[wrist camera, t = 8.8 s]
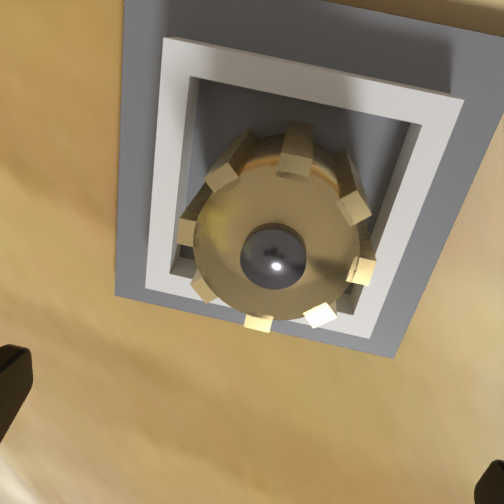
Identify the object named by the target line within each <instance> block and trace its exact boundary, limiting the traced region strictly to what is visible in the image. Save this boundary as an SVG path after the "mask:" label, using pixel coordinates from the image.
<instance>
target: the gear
mask: <svg viewBox="0 0 504 504" xmlns="http://www.w3.org/2000/svg"><path fill="white" fill-rule="evenodd" d="M204 180H205V181H206V182H205V183H204V184H203V186H202V187H201V189H200V190H199V191H198V193H197V194H196V195H195V197H194V198H193V200H192V201H191V202H190V204H189V205H188V207H187V208H186V209H185V211H184V212H183V213H182V215H181V216H180V218H179V225H178V234H177V244H181V245H186V246H190V247H193V252H194V257H195V261H196V265H197V267H198V269H197V271H196V273H195V275H194V277H193V279H192V281H191V283H190V285H191V286H192V288H193V289H194V290H195V291H196V293H197V294H198V295H199V296H200V297H201V299H202V300H203V301H204V302H205V303H206V304H207V303H209V302H211V301H212V300H214V299H216V298H218V297H219V298H220V299H221V300H222V301H223V302H225V303H226V304H228V305H229V306H230V307H232V308H234V309H236V310H238V311H240V312H242V313H244V314H246V318H245V323H244V327H247V328H251V329H255V330H260V331H264V332H269V331H270V327H271V323H272V320H277V321H281V320H293V319H299V318H303V317H306V319H307V320H308V321H309V323H310V324H311V325H312V327H313V328H315V327H317V326H320V325H322V324H324V323H326V322H328V321H331V320H333V319H335V318H337V309H336V300H337V299H338V298H339V297H340V296H341V295H342V294H343V293H344V291H345V290H346V289H347V288H348V286H349V284H350V283H351V282H353V283H357V284H362V285H366V286H368V284H369V282H370V279H371V276H372V273H373V271H374V268H375V265H376V262H377V260H376V256H375V253H374V249H373V245H372V242H371V238H370V234H369V231H368V227H367V223H366V218H368V217H369V216H371V215H372V213H371V210H370V207H369V204H368V201H367V197H366V194H365V191H364V188H363V185H362V182H361V178H360V175H359V172H358V169H357V166H356V164H355V163H354V161H353V159H352V158H351V156H350V154H349V153H348V151H347V149H346V148H344V149H342V150H341V151H339V152H337V153H336V154H334V155H333V154H332V153H331V152H330V151H329V150H328V149H326V148H325V147H324V146H323V145H321V144H319V143H318V142H316V141H314V140H313V124H308V123H304V122H299V121H294V120H290V121H289V125H288V129H287V132H286V134H275V135H270V136H266V137H263V138H260V139H258V138H257V136H256V135H255V133H254V132H253V130H252V128H249V129H248V130H247V131H245V132H244V133H242V134H241V135H239V136H238V137H236V138H235V139H234V140H232V141H231V143H230V144H229V145H228V147H227V148H226V149H225V151H224V152H223V153H222V155H221V156H220V157H219V159H218V160H217V161H216V163H215V164H214V165H213V167H212V168H211V169H210V171H209V172H208V173H207V175H206V176H205V177H204Z"/></svg>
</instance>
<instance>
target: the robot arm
mask: <svg viewBox="0 0 504 504" xmlns="http://www.w3.org/2000/svg"><path fill="white" fill-rule="evenodd" d="M32 384H33V370H32V358H31V352H30V350H29V349H27V348H25V347H21V346H16V345H12V344H8V345H4V346H2V347H0V443H1V441H2V440H3V438H4V436H5V434H6V432H7V431H8V429H9V427H10V425H11V424H12V422H13V420H14V418H15V417H16V415H17V413H18V411H19V409H20V408H21V406H22V404H23V402H24V401H25V399H26V397H27V395H28V394H29V392H30V390H31V387H32ZM474 501H475V504H504V461H503V460H494V461H492V463H491V464H490V465H489V467H488V468H487V470H486V471H485V472H484V474H483V475H482V477H481V478H480V480H479V481H478V482H477V484H476V487H475V490H474Z"/></svg>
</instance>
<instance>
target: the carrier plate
mask: <svg viewBox="0 0 504 504" xmlns="http://www.w3.org/2000/svg"><path fill="white" fill-rule="evenodd" d="M503 112H504V37H500V36H495V35H490V34H485V33H480V32H475V31H470V30H465V29H461V28H456V27H451V26H446V25H441V24H436V23H431V22H426V21H421V20H416V19H411V18H406V17H401V16H397V15H392V14H387V13H382V12H377V11H372V10H367V9H362V8H357V7H352V6H347V5H342V4H337V3H333V2H328V1H323V0H124V30H123V61H122V91H121V122H120V152H119V182H118V213H117V243H116V274H115V296H119V297H124V298H128V299H133V300H137V301H141V302H146V303H150V304H155V305H159V306H163V307H168V308H172V309H177V310H181V311H185V312H190V313H194V314H199V315H203V316H207V317H212V318H216V319H220V320H225V321H229V322H234V323H238V324H242V325H244V323H245V318H246V314H244V313H242V312H240V311H238V310H236V309H234V308H232V307H230V306H229V305H228V304H226V303H225V302H223V301H222V300H221V299H220V298H219V297H218V298H216V299H214V300H212V301H211V302H209V303H207V304H206V303H205V302H204V301H203V300H202V299H201V297H200V296H199V295H198V294H197V293H196V291H195V290H194V289H193V288H192V286H191V285H190V283H191V281H192V279H193V277H194V275H195V273H196V271H197V269H198V267H197V265H196V261H195V257H194V252H193V247H190V246H186V245H181V244H177V234H178V225H179V218H180V216H181V215H182V213H183V212H184V211H185V209H186V208H187V207H188V205H189V204H190V202H191V201H192V200H193V198H194V197H195V195H196V194H197V193H198V191H199V190H200V189H201V187H202V186H203V184H204V183H205V182H206V181H205V180H204V177H205V176H206V175H207V173H208V172H209V171H210V169H211V168H212V167H213V165H214V164H215V163H216V161H217V160H218V159H219V157H220V156H221V155H222V153H223V152H224V151H225V149H226V148H227V147H228V145H229V144H230V143H231V141H232V140H234V139H235V138H236V137H238V136H239V135H241V134H242V133H244V132H245V131H247V130H248V129H249V128H252V130H253V132H254V133H255V135H256V136H257V138H258V139H260V138H263V137H266V136H270V135H275V134H286V132H287V129H288V125H289V121H290V120H294V121H299V122H304V123H308V124H313V140H314V141H316V142H318V143H319V144H321V145H323V146H324V147H325V148H326V149H328V150H329V151H330V152H331V153H332V154H333V155H334V154H336V153H337V152H339V151H341V150H342V149H344V148H346V149H347V151H348V153H349V154H350V156H351V158H352V159H353V161H354V163H355V164H356V166H357V169H358V172H359V175H360V178H361V182H362V185H363V188H364V191H365V194H366V197H367V201H368V204H369V207H370V210H371V213H372V215H371V216H369V217H368V218H366V223H367V227H368V231H369V234H370V238H371V242H372V245H373V249H374V253H375V256H376V260H377V262H376V265H375V268H374V271H373V273H372V276H371V279H370V282H369V284H368V286H366V285H362V284H357V283H353V282H351V283H350V284H349V286H348V288H347V289H346V290H345V291H344V293H343V294H342V295H341V296H340V297H339V298H338V299H337V300H336V309H337V318H335V319H333V320H331V321H328V322H326V323H324V324H322V325H320V326H317V327H315V328H313V327H312V325H311V324H310V323H309V321H308V320H307V319H306V317H303V318H299V319H293V320H281V321H277V320H272V323H271V327H270V331H273V332H278V333H282V334H286V335H291V336H295V337H300V338H304V339H308V340H313V341H317V342H322V343H326V344H330V345H335V346H339V347H344V348H348V349H352V350H357V351H361V352H365V353H370V354H374V355H379V356H383V357H387V358H392V359H394V357H395V355H396V352H397V350H398V348H399V346H400V343H401V341H402V339H403V337H404V334H405V332H406V330H407V328H408V325H409V323H410V321H411V319H412V316H413V314H414V312H415V310H416V308H417V305H418V303H419V301H420V299H421V296H422V294H423V292H424V290H425V287H426V285H427V283H428V281H429V278H430V276H431V274H432V272H433V269H434V267H435V265H436V263H437V260H438V258H439V256H440V254H441V251H442V249H443V247H444V245H445V242H446V240H447V238H448V236H449V233H450V231H451V229H452V227H453V225H454V222H455V220H456V218H457V216H458V213H459V211H460V209H461V207H462V204H463V202H464V200H465V198H466V195H467V193H468V191H469V189H470V186H471V184H472V182H473V180H474V177H475V175H476V173H477V171H478V168H479V166H480V164H481V162H482V159H483V157H484V155H485V153H486V150H487V148H488V146H489V144H490V142H491V139H492V137H493V135H494V133H495V130H496V128H497V126H498V124H499V121H500V119H501V117H502V115H503Z"/></svg>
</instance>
